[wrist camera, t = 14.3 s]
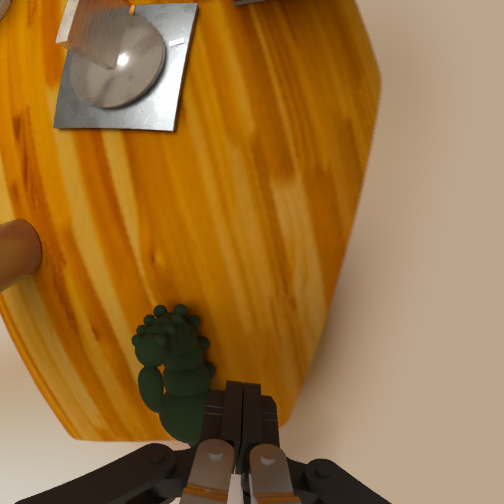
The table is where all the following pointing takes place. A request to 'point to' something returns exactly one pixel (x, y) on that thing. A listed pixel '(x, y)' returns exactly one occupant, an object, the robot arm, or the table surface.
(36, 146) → the table surface
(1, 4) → the gray strapped canister
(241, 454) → the robot arm
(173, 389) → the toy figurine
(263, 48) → the table surface
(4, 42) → the table surface
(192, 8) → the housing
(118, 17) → the dial
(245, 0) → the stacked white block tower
